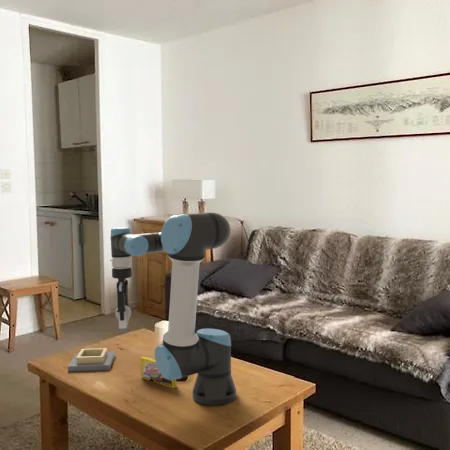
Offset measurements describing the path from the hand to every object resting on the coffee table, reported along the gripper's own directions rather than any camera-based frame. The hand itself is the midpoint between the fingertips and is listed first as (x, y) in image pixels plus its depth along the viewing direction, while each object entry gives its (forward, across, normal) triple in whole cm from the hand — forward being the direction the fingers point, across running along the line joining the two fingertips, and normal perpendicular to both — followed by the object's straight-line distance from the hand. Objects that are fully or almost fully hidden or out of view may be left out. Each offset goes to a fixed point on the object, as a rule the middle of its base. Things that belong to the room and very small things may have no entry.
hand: (123, 325), depth 204 cm
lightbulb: (+3, 0, 0) cm, 3 cm away
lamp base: (+18, -8, -14) cm, 24 cm away
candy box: (+18, +14, +14) cm, 27 cm away
